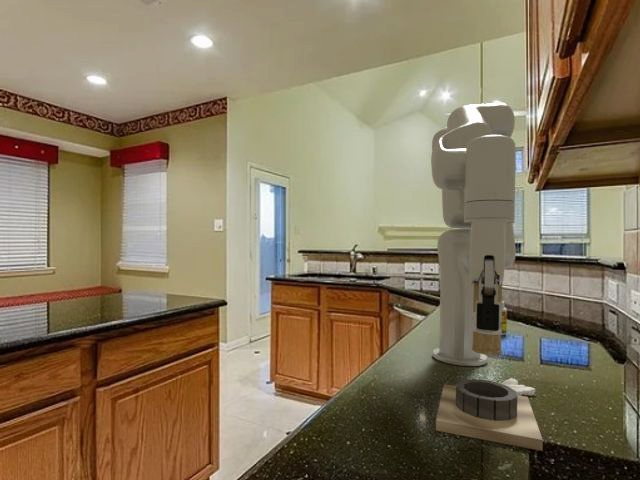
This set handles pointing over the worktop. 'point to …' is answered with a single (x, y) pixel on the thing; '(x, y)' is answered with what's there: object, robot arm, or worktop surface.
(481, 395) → the socket board
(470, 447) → the worktop surface
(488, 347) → the sprinkles bottle
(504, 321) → the supplement bottle
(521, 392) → the acanthus leaf ornament
